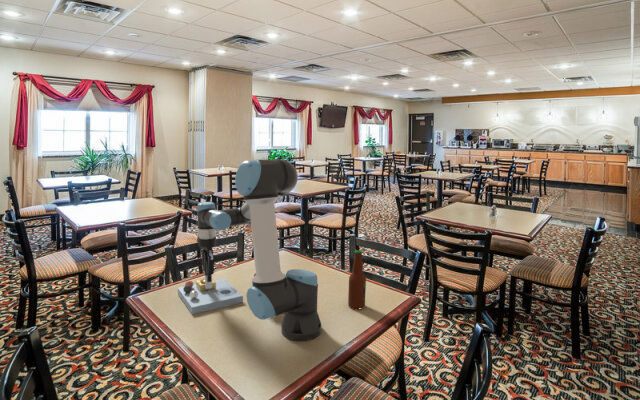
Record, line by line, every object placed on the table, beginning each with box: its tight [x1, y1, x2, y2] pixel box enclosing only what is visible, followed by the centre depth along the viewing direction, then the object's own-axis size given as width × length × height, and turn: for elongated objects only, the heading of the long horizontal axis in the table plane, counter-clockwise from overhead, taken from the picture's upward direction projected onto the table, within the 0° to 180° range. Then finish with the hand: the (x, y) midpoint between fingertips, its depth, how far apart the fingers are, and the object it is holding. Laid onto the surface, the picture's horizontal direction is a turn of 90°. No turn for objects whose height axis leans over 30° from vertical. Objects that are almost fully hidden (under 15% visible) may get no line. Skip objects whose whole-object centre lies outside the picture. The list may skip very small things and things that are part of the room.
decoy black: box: [183, 285, 192, 293], centre depth 165 cm, size 4×4×4 cm
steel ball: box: [190, 291, 198, 299], centre depth 159 cm, size 4×4×4 cm
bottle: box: [347, 249, 367, 310], centre depth 159 cm, size 7×7×25 cm
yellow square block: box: [195, 278, 216, 292], centre depth 170 cm, size 7×7×4 cm
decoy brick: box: [184, 280, 194, 287], centre depth 170 cm, size 4×4×4 cm
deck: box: [177, 278, 244, 315], centre depth 167 cm, size 24×22×3 cm
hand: (208, 287), depth 167 cm, fingers closed
